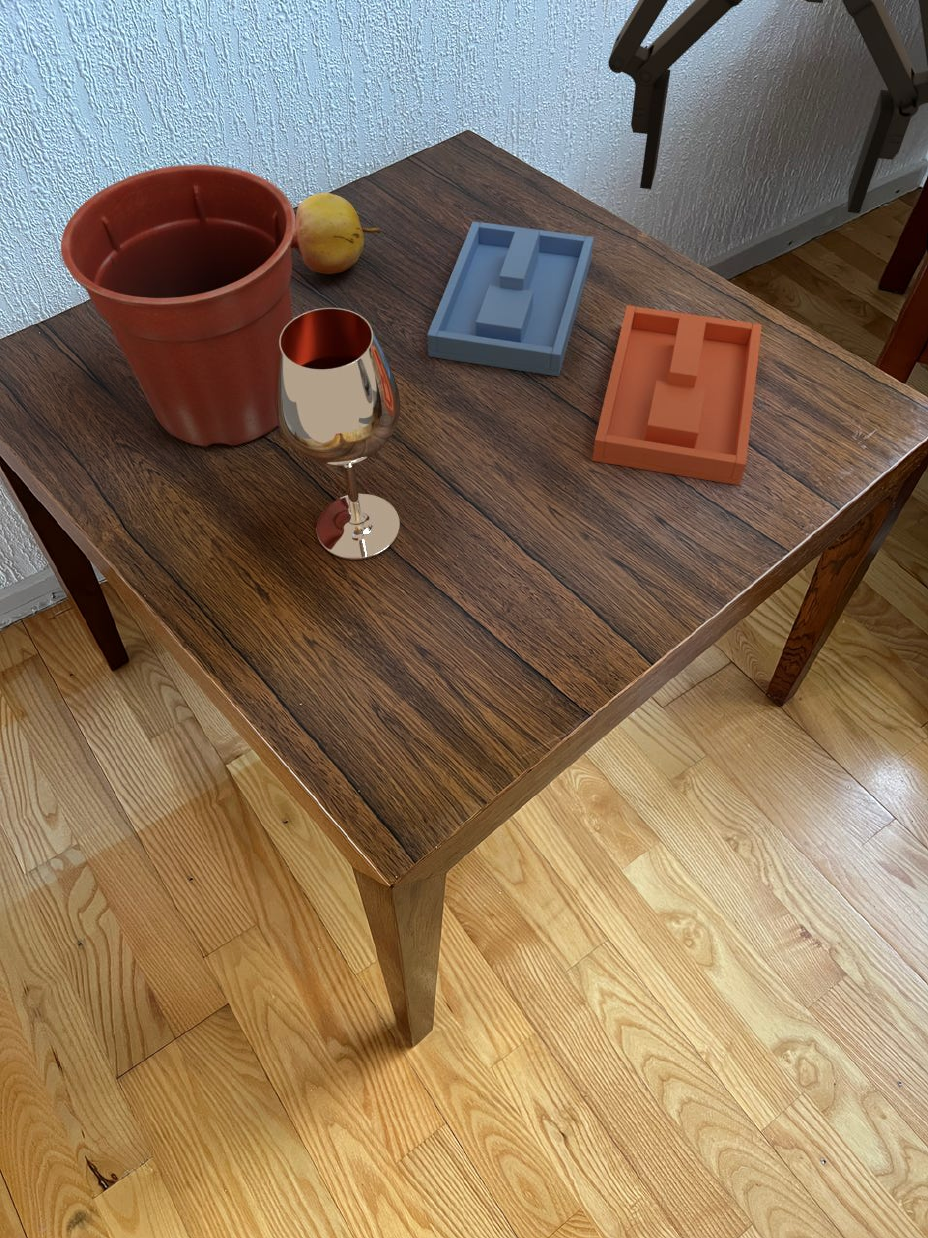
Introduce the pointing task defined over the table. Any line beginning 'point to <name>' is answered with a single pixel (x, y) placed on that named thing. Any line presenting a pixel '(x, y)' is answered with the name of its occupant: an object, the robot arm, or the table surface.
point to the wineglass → (339, 418)
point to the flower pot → (192, 291)
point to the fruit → (328, 233)
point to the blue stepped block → (511, 291)
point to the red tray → (720, 373)
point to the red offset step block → (679, 390)
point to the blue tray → (551, 286)
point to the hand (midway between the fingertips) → (749, 189)
